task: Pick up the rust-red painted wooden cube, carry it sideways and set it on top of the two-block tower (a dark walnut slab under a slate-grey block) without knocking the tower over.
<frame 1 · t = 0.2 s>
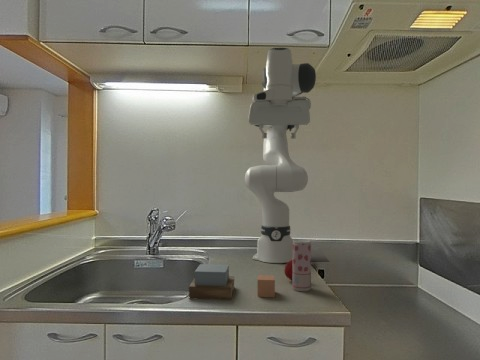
hand: (278, 138, 131), 47 cm above the counter, fingers open, 8 cm apart
walnut slab: (212, 294, 118), on the counter, touching grey block
onion: (293, 282, 130), on the counter
rust cube: (266, 294, 117), on the counter
beverage can: (301, 289, 122), on the counter
grey block: (212, 281, 118), point 3 cm above the counter, touching walnut slab
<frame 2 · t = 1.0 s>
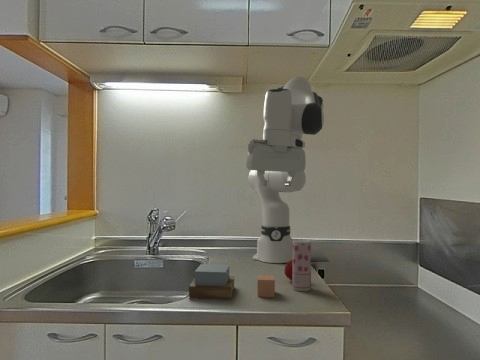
hand: (276, 186, 120), 32 cm above the counter, fingers open, 8 cm apart
nothing on the counter moved.
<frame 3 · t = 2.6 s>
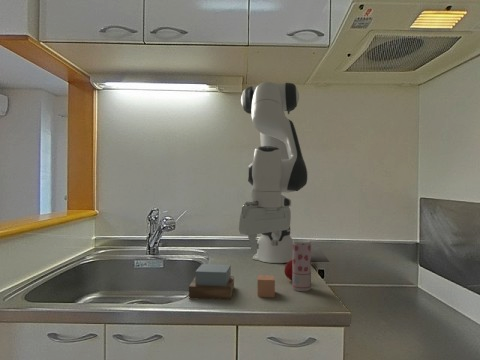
hand: (265, 247, 116), 14 cm above the counter, fingers open, 8 cm apart
nothing on the counter moved.
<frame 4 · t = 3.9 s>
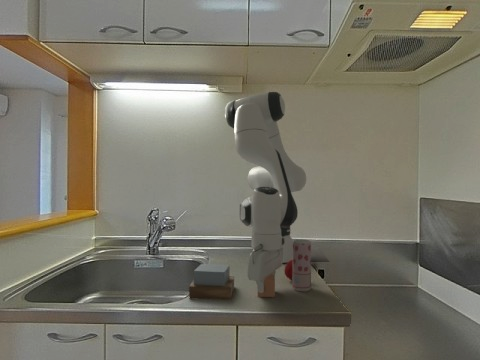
hand: (265, 288, 117), 2 cm above the counter, fingers closed on rust cube, 6 cm apart
rust cube: (266, 294, 117), on the counter, touching gripper
everything else where it was.
when the fingers open (12 cm above the counter, at t = 10.8 s): rust cube drops 3 cm, point 7 cm above the counter.
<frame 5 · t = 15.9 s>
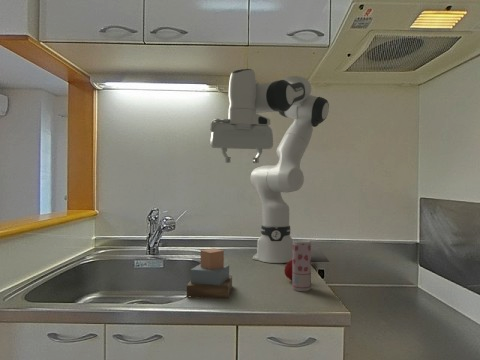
hand: (241, 162, 127), 39 cm above the counter, fingers open, 8 cm apart
walnut slab: (210, 293, 119), on the counter
rust cube: (212, 266, 119), point 7 cm above the counter
grey block: (210, 280, 119), point 3 cm above the counter
everything else where it was.
at the end: rust cube 0.4 cm off-centre on the grey block, point 4.0 cm above the grey block's base; rust cube tilted 0°; grey block tilted 0° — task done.
